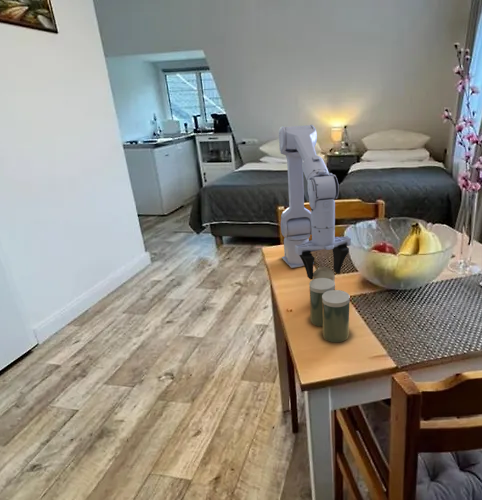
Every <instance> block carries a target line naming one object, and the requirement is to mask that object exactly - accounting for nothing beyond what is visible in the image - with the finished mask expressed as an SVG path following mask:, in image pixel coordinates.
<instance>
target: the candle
mask: <svg viewBox="0 0 482 500" xmlns="http://www.w3.org/2000/svg"><path fill="white" fill-rule="evenodd" d="M335 273H336V272H335V271H334V270H332V269H331V268H330V267H329V266H322V267H321V266H318V268H316V270H315V271H313V279H317V278H328V279H331V280H333V281H334V282H335V283H336V281H335V278H336V275H335ZM313 279H312V280H313Z"/></svg>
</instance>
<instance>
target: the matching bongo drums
mask: <svg viewBox="0 0 482 500" xmlns="http://www.w3.org/2000/svg"><path fill="white" fill-rule="evenodd" d="M308 287H309V313H310V314H309V315H310V316H309V318H310V322H311V324H312V325H314V326H316V327H322V337H323V339H325V340H326V341H328V342H331V343H341V342H345V341H346V340H347V339H349V337H350V300H351V299H350V297H351V296H350V294H349V293H348V292H346V291H344V290H341V289H336V281H335V282H334V281H333V280H331V279H328V278H317V279H312V280H310V281H309V283H308Z"/></svg>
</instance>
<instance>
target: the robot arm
mask: <svg viewBox="0 0 482 500" xmlns="http://www.w3.org/2000/svg"><path fill="white" fill-rule="evenodd" d="M317 140H318V133H317V129H316V127H315V126H314V125H313V124H308V125H307V124H306V125H288V126H287V125H286V126H285V125H282V126H281V127H280V128H279V129H278V142H279V144H278V145H279V146H278V147H279V153H280V154H281V155H284V156H285V158H286V164H287V166H286V167H287V181H288V182H287V186H288V201H289V202H288V204H289V206H288V207H287V208H286V209H285V210H284V211H282V213H281V215H280V231H281V235H282V236H283V237H284V239H283V254H284V256H282V257H281V259H282V260H283V261H284V262H285V264H286V265H288V266H289V267H290V269H296V268H300V267H304V268H305V272H306V276H307V278H308V279H309V280H310V281H312V280H313V273H314V264H315V257H314V255H313V253H312V252H317V251H322V250H326V251H331V250H332V257H333V272H334V273H336V274H337V275H339V274H341V271H342V267H343V265H344V261H345V259H346V257H347V256H348V254H349V253H350V248H349V246H351V244H352V242H351V241H352V239H351V238H350V237H349V236H347V235H345V236H336V200H337V199H338V198H339V193H340V187H339V186H340V184H339V181H338V178H337V175H336V174H333V173H332V172H329V170H328V167H327V166H326V163H325V161H324V159H323V157H321V156H320V155H318V154H317V151H316V145H317ZM304 177H305V180H306V182H307V187H306V188H307V195H308V204H309V207H310V210H309V209H308V208H306V207H305V191H304V190H305V189H304ZM310 238H311V240H310Z"/></svg>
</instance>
